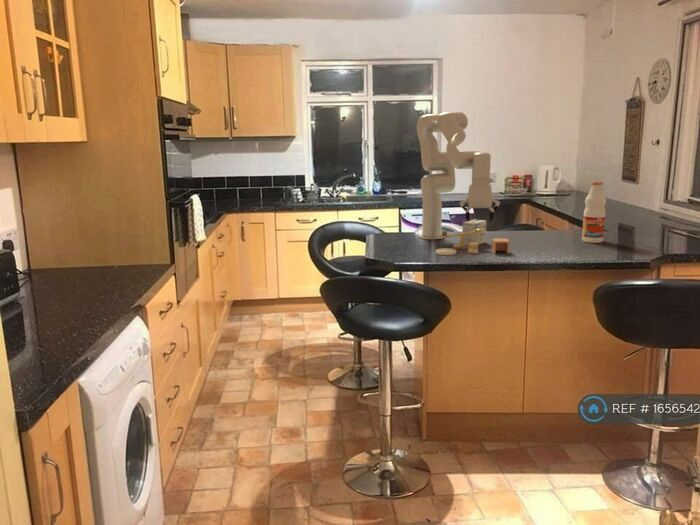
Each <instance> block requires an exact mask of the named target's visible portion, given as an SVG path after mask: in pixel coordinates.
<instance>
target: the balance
mask: <svg viewBox="0 0 700 525" xmlns="http://www.w3.org/2000/svg"><path fill="white" fill-rule="evenodd" d="M480 231H484V229H481V228H477V229H475V231H471V232H466V233H463V232H461V233H454V234H448V231H447V230H443V231H442V230H441V234H442V235H440V237H444V238H443V239H449V238H453V237H459V244H452V245H453V246H452V247H453V249H455V250H466V249H467V250H468V245H464V244H463V237H464V235H466V234H472V233H477V232H480Z"/></svg>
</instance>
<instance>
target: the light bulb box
mask: <svg viewBox="0 0 700 525" xmlns="http://www.w3.org/2000/svg"><path fill="white" fill-rule="evenodd" d="M477 228H481V229H484V231H480V232H477V233H472V234H466V235H464V237H463V245H468V243H478V245H481V244H485V243H486V241H487V240H486V239H487V238H486V237H487V220H484V219H475V218H474V219H471V220H469V222H468V221H467V220H466V221H462V233H466V232H471V231H475V229H477Z"/></svg>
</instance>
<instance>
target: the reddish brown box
mask: <svg viewBox="0 0 700 525" xmlns="http://www.w3.org/2000/svg"><path fill="white" fill-rule="evenodd" d="M496 251H497V252H499V251H501V252H503V251H505V253H507V254H510V240H509V239H508V238H491V252H492V253H493V254H494V255H495V254H496Z"/></svg>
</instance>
